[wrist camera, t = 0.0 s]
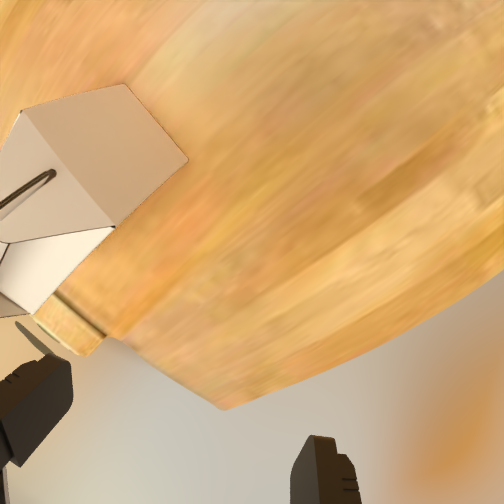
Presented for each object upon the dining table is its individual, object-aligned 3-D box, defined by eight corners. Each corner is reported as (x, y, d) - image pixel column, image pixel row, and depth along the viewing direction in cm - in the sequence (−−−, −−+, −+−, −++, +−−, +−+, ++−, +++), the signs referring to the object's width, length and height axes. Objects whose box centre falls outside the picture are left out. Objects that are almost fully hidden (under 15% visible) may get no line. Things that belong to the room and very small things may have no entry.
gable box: (97, 244, 47) (-13, 376, 23) (46, 184, 42) (-84, 290, 19) (191, 158, 37) (32, 321, 14) (125, 81, 32) (-85, 153, 9)
